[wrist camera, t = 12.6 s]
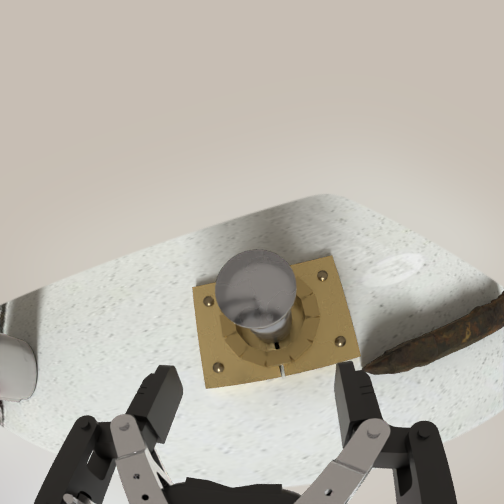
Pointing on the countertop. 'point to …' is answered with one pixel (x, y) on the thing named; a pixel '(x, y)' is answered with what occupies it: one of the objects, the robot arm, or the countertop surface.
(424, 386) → the countertop surface
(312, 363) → the brass socket plate
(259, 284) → the hinge pin
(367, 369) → the hand tool
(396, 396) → the countertop surface
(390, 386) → the countertop surface
